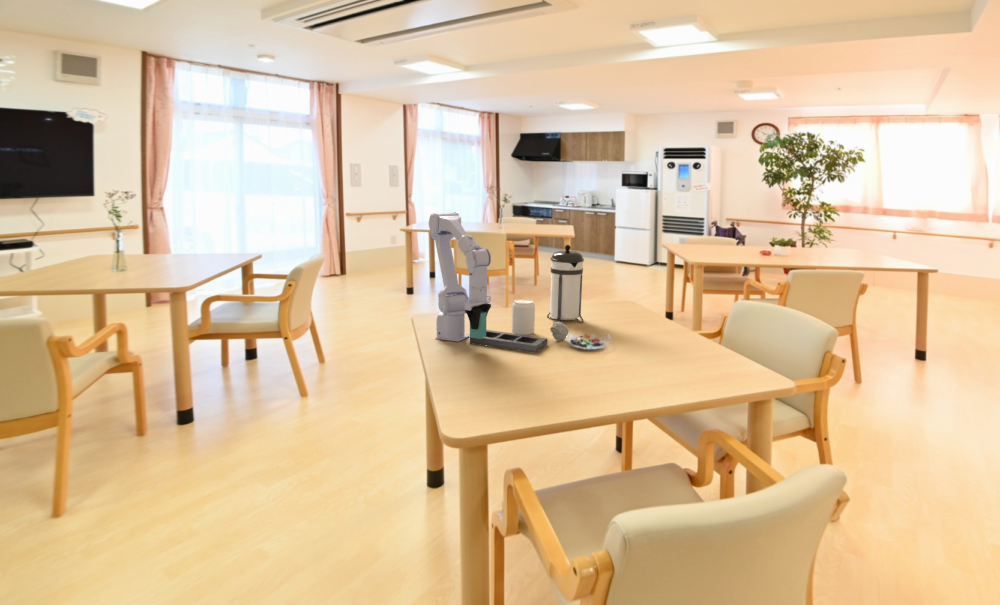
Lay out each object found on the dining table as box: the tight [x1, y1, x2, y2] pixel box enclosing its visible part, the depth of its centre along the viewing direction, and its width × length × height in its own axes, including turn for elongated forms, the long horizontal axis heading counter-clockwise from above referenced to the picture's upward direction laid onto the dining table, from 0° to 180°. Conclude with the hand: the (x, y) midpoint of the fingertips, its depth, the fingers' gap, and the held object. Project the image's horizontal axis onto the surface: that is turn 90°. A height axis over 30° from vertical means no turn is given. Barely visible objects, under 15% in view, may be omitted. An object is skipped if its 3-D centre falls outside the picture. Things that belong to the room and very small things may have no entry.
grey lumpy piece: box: [550, 321, 570, 342], centre depth 209 cm, size 6×7×7 cm
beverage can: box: [511, 298, 536, 336], centre depth 217 cm, size 8×8×12 cm
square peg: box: [469, 312, 487, 339], centre depth 196 cm, size 4×4×8 cm
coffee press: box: [546, 244, 585, 324], centre depth 235 cm, size 17×16×30 cm
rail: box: [469, 329, 548, 354], centre depth 204 cm, size 24×10×2 cm, turn 65°
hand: (477, 327), depth 196 cm, fingers closed on square peg, 4 cm apart
